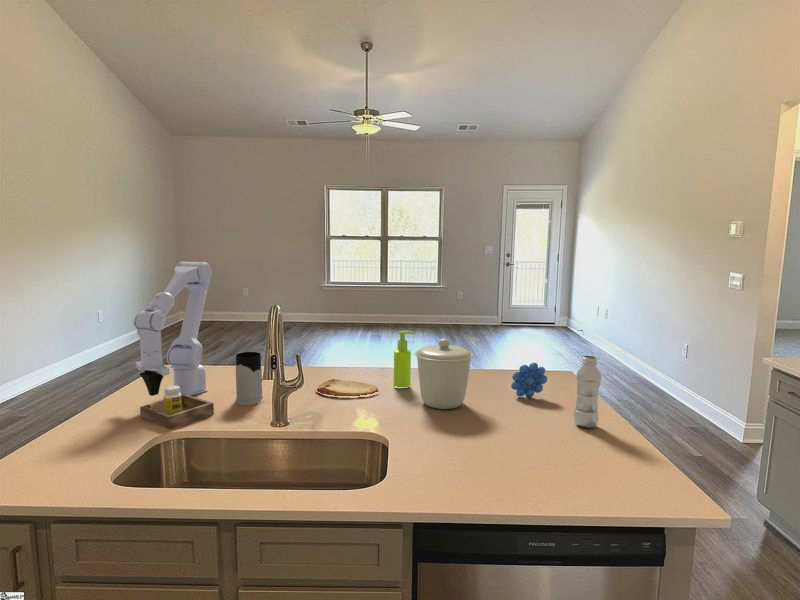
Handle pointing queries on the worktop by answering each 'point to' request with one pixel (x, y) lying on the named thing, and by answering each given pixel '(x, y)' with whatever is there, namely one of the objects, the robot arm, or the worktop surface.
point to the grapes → (529, 380)
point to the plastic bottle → (587, 393)
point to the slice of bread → (346, 388)
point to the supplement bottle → (172, 400)
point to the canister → (443, 374)
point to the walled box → (171, 421)
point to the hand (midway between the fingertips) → (153, 394)
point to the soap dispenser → (402, 362)
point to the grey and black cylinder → (248, 378)
